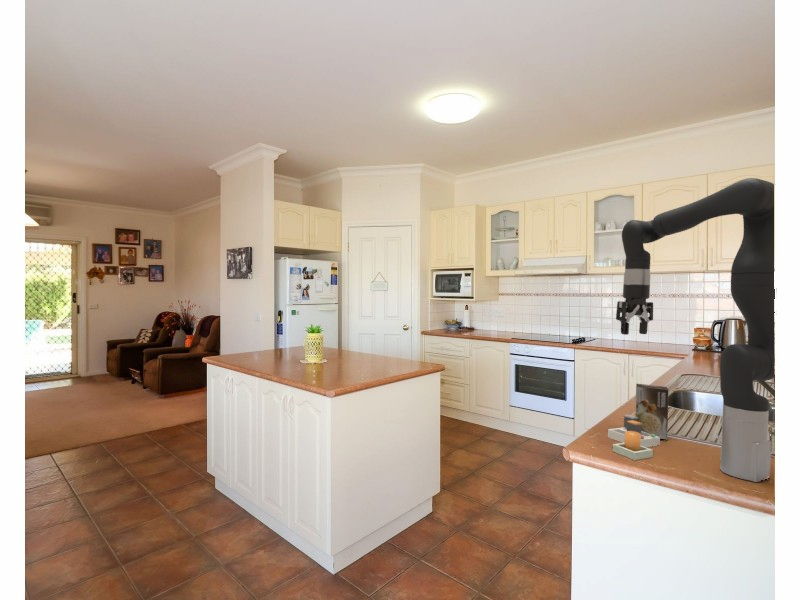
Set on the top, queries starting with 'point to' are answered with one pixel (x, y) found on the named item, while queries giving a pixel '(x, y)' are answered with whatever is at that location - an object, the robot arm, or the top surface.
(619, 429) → the box
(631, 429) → the tagged breaker
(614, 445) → the pale green square frame
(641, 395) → the coffee box
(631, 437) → the cap
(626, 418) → the block
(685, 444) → the top surface
